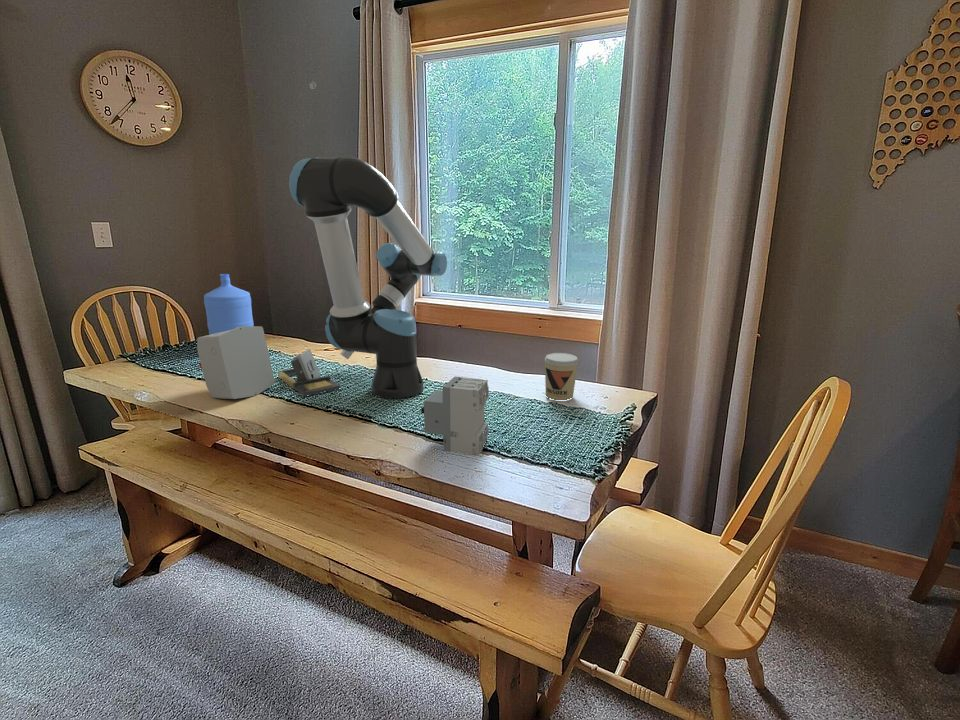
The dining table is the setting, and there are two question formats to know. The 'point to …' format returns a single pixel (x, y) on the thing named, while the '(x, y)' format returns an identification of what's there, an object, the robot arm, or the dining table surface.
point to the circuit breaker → (458, 414)
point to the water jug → (227, 307)
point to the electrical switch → (305, 366)
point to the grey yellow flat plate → (308, 383)
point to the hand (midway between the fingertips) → (344, 356)
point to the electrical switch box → (235, 362)
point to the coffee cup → (560, 375)
